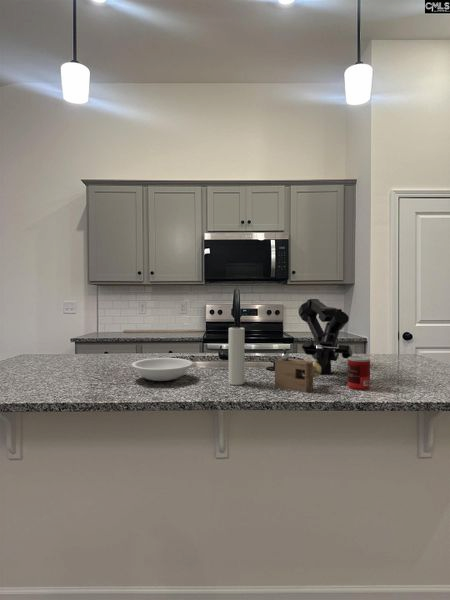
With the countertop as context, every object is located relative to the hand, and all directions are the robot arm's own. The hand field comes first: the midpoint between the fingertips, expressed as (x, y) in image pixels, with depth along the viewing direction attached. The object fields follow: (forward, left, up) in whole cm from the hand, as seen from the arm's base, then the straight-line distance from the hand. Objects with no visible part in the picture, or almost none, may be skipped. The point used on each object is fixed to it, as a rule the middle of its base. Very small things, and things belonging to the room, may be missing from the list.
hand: (321, 368), depth 148 cm
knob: (+3, -6, -3) cm, 7 cm away
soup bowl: (-25, -57, -6) cm, 62 cm away
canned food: (+10, +9, -6) cm, 15 cm away
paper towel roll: (-10, -31, -6) cm, 33 cm away
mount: (+3, -14, -6) cm, 15 cm away
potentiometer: (+1, -16, +4) cm, 17 cm away
